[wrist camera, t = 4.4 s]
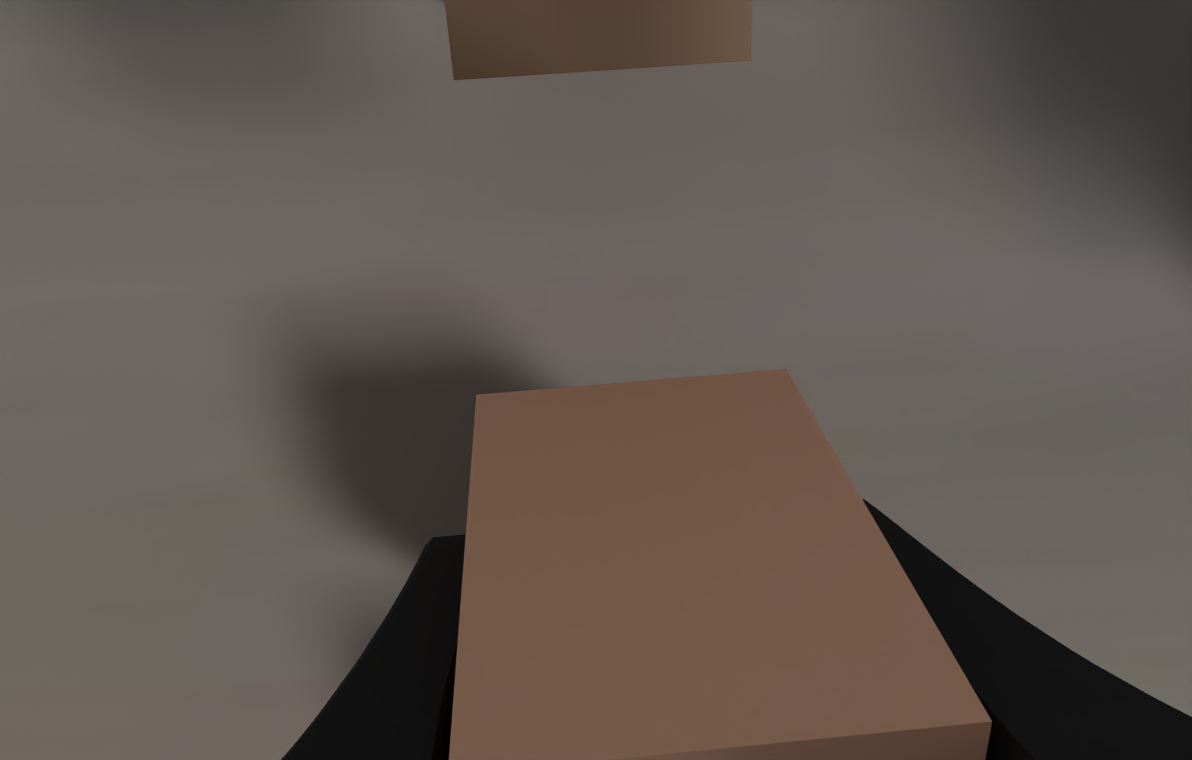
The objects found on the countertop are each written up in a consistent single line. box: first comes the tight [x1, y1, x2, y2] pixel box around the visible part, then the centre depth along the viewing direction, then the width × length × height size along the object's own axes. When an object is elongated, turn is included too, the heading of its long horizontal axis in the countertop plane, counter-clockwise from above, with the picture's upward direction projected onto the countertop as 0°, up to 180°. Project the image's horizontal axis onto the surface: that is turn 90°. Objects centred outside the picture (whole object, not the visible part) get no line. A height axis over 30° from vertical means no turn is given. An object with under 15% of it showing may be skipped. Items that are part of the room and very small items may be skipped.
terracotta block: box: [449, 369, 992, 760], centre depth 11 cm, size 4×4×6 cm
